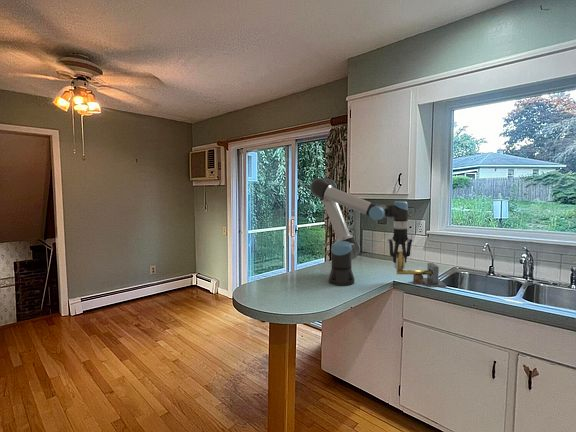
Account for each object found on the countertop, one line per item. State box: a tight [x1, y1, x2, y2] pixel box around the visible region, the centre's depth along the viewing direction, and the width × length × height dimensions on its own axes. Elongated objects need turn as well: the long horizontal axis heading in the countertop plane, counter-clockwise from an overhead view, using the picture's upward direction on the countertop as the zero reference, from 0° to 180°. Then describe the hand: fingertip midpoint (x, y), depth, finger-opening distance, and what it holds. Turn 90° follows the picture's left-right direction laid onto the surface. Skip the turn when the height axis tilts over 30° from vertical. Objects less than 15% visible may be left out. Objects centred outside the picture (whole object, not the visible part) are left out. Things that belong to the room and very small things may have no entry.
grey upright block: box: [423, 262, 447, 288], centre depth 182 cm, size 10×14×10 cm
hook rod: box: [396, 250, 431, 276], centre depth 182 cm, size 20×3×13 cm, turn 85°
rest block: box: [412, 274, 424, 285], centre depth 183 cm, size 4×5×5 cm
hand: (399, 268), depth 184 cm, fingers closed on hook rod, 3 cm apart
